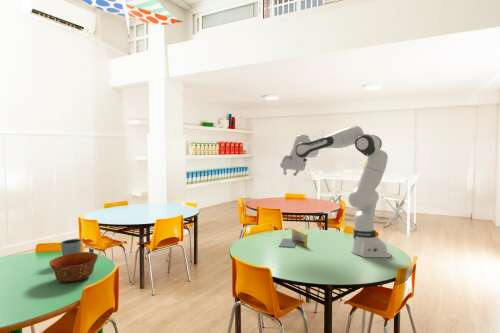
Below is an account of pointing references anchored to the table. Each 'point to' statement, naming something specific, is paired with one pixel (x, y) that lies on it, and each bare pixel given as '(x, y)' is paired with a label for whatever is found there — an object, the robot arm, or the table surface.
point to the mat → (287, 243)
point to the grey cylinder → (71, 246)
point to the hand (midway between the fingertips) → (289, 175)
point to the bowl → (73, 266)
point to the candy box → (299, 237)
